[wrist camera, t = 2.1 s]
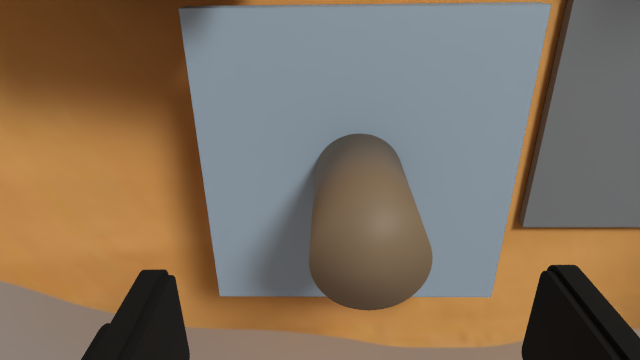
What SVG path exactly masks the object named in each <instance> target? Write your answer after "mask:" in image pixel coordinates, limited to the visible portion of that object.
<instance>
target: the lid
mask: <svg viewBox="0 0 640 360" xmlns="http://www.w3.org/2000/svg"><path fill="white" fill-rule="evenodd" d="M550 9H551V4H546V3H541V2H510V3H419V4H328V5H238V6H185V7H182V8H179V16H180V23H181V30H182V37H183V44H184V51H185V58H186V65H187V71H188V78H189V85H190V92H191V99H192V106H193V113H194V120H195V127H196V134H197V141H198V148H199V155H200V162H201V169H202V176H203V183H204V189H205V196H206V203H207V210H208V217H209V224H210V231H211V238H212V245H213V252H214V259H215V266H216V273H217V280H218V287H219V294H220V296H303V297H328V298H330V299H331V300H333V301H334V302H336V303H338V304H340V305H343V306H346V307H349V308H353V309H359V310H378V309H384V308H388V307H392V306H394V305H397V304H399V303H401V302H403V301H405V300H407V299H408V298H410V297H491V295H492V290H493V286H494V281H495V276H496V271H497V266H498V261H499V256H500V252H501V247H502V242H503V237H504V232H505V227H506V222H507V218H508V213H509V208H510V203H511V198H512V193H513V188H514V184H515V179H516V174H517V169H518V164H519V159H520V154H521V150H522V145H523V140H524V135H525V130H526V125H527V120H528V116H529V111H530V106H531V101H532V96H533V91H534V86H535V82H536V77H537V72H538V67H539V62H540V57H541V52H542V48H543V43H544V38H545V33H546V28H547V23H548V18H549V14H550Z"/></svg>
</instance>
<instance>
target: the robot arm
mask: <svg viewBox="0 0 640 360" xmlns="http://www.w3.org/2000/svg"><path fill="white" fill-rule="evenodd" d="M189 355H190V353H189V347H188V342H187V337H186V331H185V326H184V321H183V316H182V311H181V305H180V300H179V295H178V290H177V285H176V280H175V277H174V276H173V275H168V272H167V271H166V270H142V271H141V272H140V273H139V275H138V277H137V279H136V280H135V282H134V284H133V285H132V287H131V289H130V291H129V292H128V294H127V296H126V297H125V299H124V301H123V303H122V304H121V306H120V308H119V309H118V311H117V313H116V314H115V316H114V318H113V320H112V321H111V323H107V324H105V325H103V326H102V327H101V328H100V330H99V331H98V333H97V334H96V336H95V338H94V339H93V341H92V342H91V344H90V346H89V347H88V349H87V351H86V352H85V354H84V356H83V357H82V359H81V360H189V358H190V356H189ZM522 358H523V360H640V338H639V337H638V336H637V334H636V333H635V332H634V331H633V330H632V328H631V327H630V326H629V325H628V324H627V323H626V322H625V320H624V319H623V318H622V317H621V316H620V315H619V314H618V312H617V311H616V310H615V309H614V308H613V307H612V305H611V304H610V303H609V302H608V301H607V300H606V299H605V297H604V296H603V295H602V294H601V293H600V292H599V290H598V289H597V288H596V287H595V286H594V285H593V284H592V282H591V281H590V280H589V279H588V278H587V277H586V275H585V274H584V273H583V272H582V271H581V270H580V269H579V268H578V267H577V266H575V265H551V266H549V267H548V269H547V271H543V272H542V273H541V275H540V279H539V283H538V287H537V291H536V295H535V298H534V302H533V306H532V310H531V314H530V318H529V322H528V326H527V330H526V334H525V338H524V342H523V346H522Z"/></svg>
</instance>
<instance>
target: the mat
mask: <svg viewBox="0 0 640 360" xmlns="http://www.w3.org/2000/svg"><path fill="white" fill-rule="evenodd" d="M519 223H520V224H521V226H522V227H640V0H567V4H566V8H565V13H564V17H563V22H562V27H561V31H560V36H559V40H558V45H557V49H556V54H555V58H554V63H553V67H552V72H551V77H550V81H549V86H548V90H547V95H546V99H545V104H544V108H543V113H542V118H541V122H540V127H539V131H538V136H537V140H536V145H535V149H534V154H533V158H532V163H531V168H530V172H529V177H528V181H527V186H526V190H525V195H524V199H523V204H522V208H521V213H520V218H519Z"/></svg>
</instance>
